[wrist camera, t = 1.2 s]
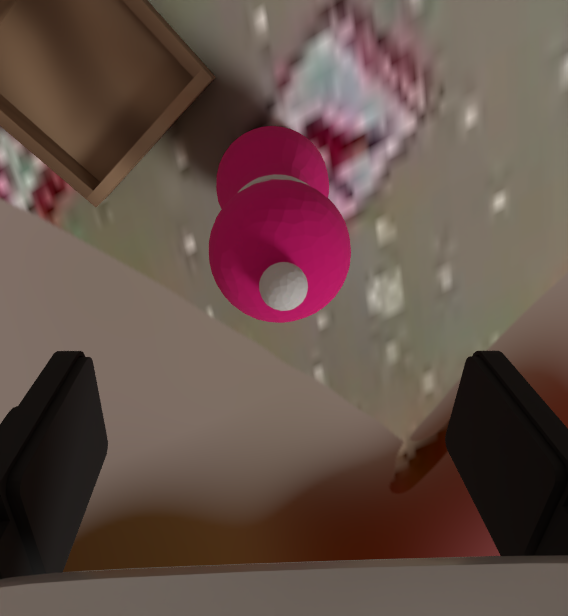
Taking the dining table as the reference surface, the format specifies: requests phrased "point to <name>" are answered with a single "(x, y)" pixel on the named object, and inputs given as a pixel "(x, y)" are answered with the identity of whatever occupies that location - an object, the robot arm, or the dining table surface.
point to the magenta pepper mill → (277, 228)
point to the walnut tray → (93, 85)
